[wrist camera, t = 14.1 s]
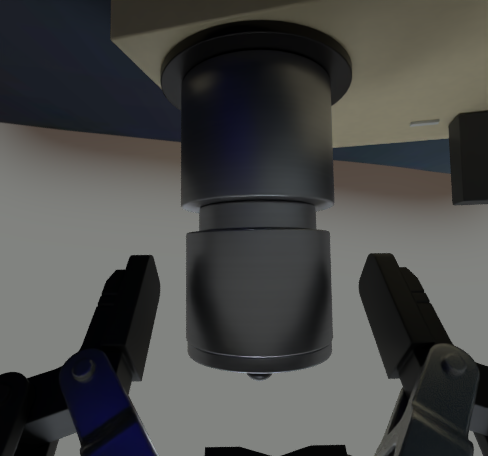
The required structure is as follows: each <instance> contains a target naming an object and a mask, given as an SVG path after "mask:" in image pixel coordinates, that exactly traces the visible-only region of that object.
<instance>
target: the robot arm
mask: <svg viewBox="0 0 488 456" xmlns="http://www.w3.org/2000/svg"><path fill="white" fill-rule="evenodd" d="M359 293H360V297H361V300H362V303H363V305H364V308H365V312H366V314H367V317H368V320H369V323H370V326H371V329H372V332H373V335H374V338H375V340H376V344H377V347H378V350H379V352H380V355H381V358H382V361H383V364H384V367H385V369H386V373H387V376H388V378H389V379H390V378H392V379H395V378H400V380H401V382H402V385H403V388H402V389H401V391H400V394H399V397H398V400H397V403H396V405H395V408H394V411H393V413H392V416H391V418H390V421H389V424H388V426H387V429H386V432H385V435H384V437H383V439H382V442H381V444H380V445H379V447H378V449H377V451H376V453H375V455H374V456H473V451H474V447H473V443H472V442H471V441H469V440H468V433H469V430H470V431H473V432H474V435H475V437H476V439H477V442H478V444H479V447H480V449H481V451H482V454H483V456H488V366H485V365H481V364H479V363H476V362H474V360H473V359H472V358H471V356H470V355H468V354H467V353H466V352H465V351H463V350H462V349H460V348H458V347H456V346H454V345H453V344H452V342H451V341H450V339H449V337H448V335H447V333H446V331H445V329H444V327H443V325H442V323H441V322H440V320H439V318H438V316H437V314H436V312H435V310H434V308H433V306H432V304H431V303H429V299H428V297H427V295H426V293H424V289H423V288H422V286H421V284H420V282H419V280H418V278H417V277H416V276H415V275H414V274H413V273H412V272H410V270H409V269H407V268H406V267H399V266H398V264H397V261H396V259H395V257H394V256H393V255H392V254H390V253H382V254H381V253H374V254H372V253H371V254H369V255H368V257H367V260H366V263H365V266H364V268H363V271H362V274H361V277H360V280H359ZM159 296H160V281H159V277H158V273H157V269H156V265H155V262H154V258H153V256H152V255H132V256H130V258H129V261H128V264H127V267H126V270H116V271H115V272H114V273H113V274H112V275H111V276H110V278H109V279H108V280H107V281H106V283H105V286H104V289H103V291H102V296H101V297H100V299H99V302H98V307H96V310H95V312H94V315H93V318H92V320H91V323H90V326H89V328H88V331H87V334H86V336H85V339H84V342H83V344H82V346H81V348H80V350H79V351H78V352H77V353H76V354H74V355H72V356H71V357H70V358H69V359H68V360H67V361H66V362H65V364H64V365H63V366H61V367H59V368H57V369H55V370H52V371H48V372H45V373H42V374H39V375H36V376H33V377H30V378H26V377H25V376H23V375H22V374H20V373H17V372H9V373H4V374H1V375H0V456H54V454H55V451H56V448H57V444H58V441H59V439H60V438H63V437H65V436H68V435H71V434H73V433H76V432H77V434H78V437H79V440H80V443H81V448H80V455H81V456H159V455H158V453H157V451H156V449H155V447H154V445H153V443H152V441H151V439H150V437H149V435H148V433H147V431H146V429H145V427H144V425H143V423H142V421H141V419H140V417H139V415H138V413H137V412H136V410H135V408H134V406H133V404H132V402H131V400H130V398H129V396H128V394H129V390H130V386H131V382H132V381H142V376H143V372H144V367H145V362H146V358H147V353H148V348H149V343H150V339H151V334H152V329H153V325H154V320H155V316H156V311H157V306H158V302H159ZM205 456H270V455H266V454H263V453H259V452H256V451H252V450H249V449H246V448H242V447H205ZM282 456H351V455H348V454H347V452H346V447H345V445H315V446H314V445H313V446H308V447H305V448H302V449H299V450H296V451H293V452H290V453H288V454H285V455H282Z"/></svg>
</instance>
